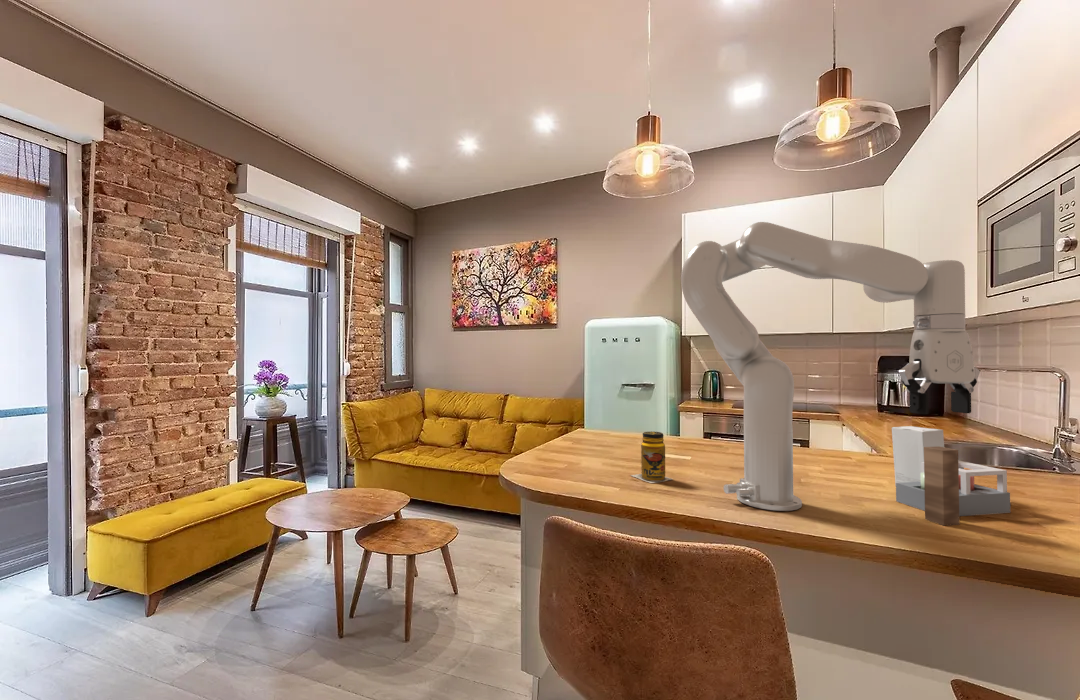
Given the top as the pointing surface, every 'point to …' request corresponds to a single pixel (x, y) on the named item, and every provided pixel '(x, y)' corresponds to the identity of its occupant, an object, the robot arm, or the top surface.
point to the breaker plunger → (970, 483)
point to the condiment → (652, 458)
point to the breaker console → (964, 492)
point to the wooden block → (941, 485)
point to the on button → (922, 480)
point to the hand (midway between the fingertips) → (940, 412)
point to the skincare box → (912, 450)
